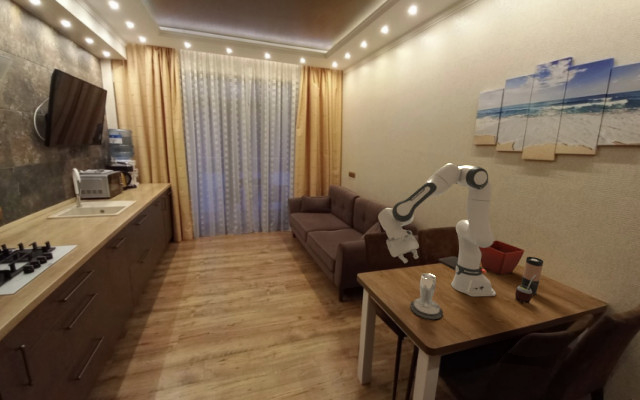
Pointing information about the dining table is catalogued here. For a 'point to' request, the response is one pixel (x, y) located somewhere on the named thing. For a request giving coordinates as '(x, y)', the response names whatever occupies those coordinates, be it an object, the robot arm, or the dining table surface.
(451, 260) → the hardcover book
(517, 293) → the mate gourd
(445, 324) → the dining table surface
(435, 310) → the disc
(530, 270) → the travel mug
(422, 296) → the beer glass
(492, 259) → the plant pot
